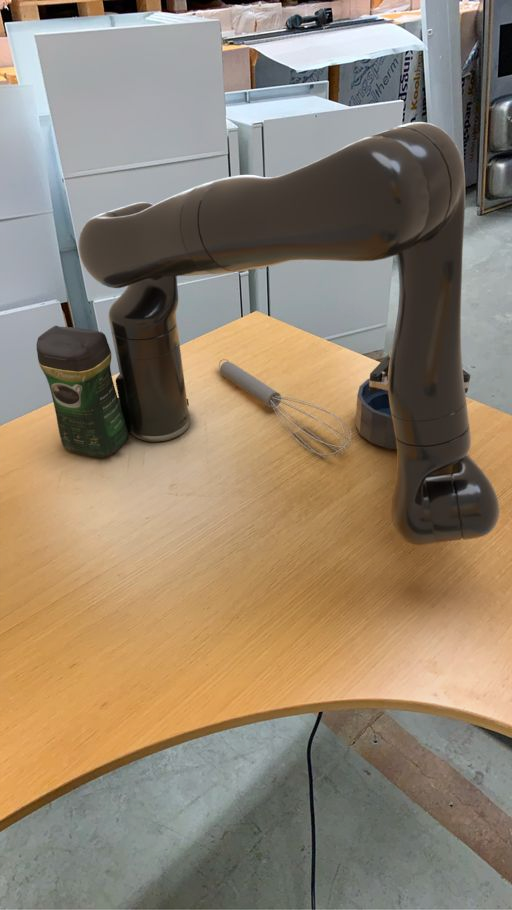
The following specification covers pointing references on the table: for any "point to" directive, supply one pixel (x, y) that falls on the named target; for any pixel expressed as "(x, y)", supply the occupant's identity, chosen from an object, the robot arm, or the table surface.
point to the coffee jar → (82, 390)
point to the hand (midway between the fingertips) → (412, 349)
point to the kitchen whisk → (273, 399)
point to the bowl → (375, 416)
